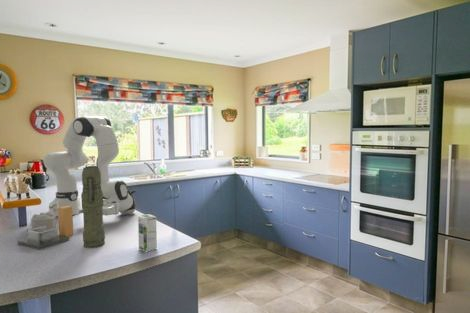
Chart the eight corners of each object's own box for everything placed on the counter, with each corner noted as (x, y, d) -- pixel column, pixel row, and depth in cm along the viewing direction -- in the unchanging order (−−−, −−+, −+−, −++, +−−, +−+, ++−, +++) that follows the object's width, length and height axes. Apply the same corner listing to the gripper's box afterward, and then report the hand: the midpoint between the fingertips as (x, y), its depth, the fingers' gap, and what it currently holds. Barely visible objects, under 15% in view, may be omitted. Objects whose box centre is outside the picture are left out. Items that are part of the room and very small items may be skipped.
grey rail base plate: (48, 235, 159) (47, 223, 158) (69, 240, 151) (68, 227, 151) (17, 244, 146) (17, 230, 146) (39, 249, 139) (38, 235, 138)
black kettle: (136, 215, 197) (136, 190, 196) (118, 216, 193) (117, 191, 192) (135, 211, 207) (134, 187, 206) (118, 213, 203) (117, 189, 202)
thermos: (104, 239, 152) (101, 164, 149) (105, 247, 141) (102, 167, 138) (83, 242, 148) (80, 165, 146) (83, 250, 137) (79, 168, 135)
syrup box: (138, 249, 138) (137, 215, 137) (150, 246, 142) (149, 213, 141) (145, 253, 133) (143, 218, 132) (157, 249, 138) (156, 215, 137)
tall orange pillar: (59, 236, 157) (57, 207, 156) (67, 233, 161) (66, 205, 160) (64, 237, 155) (63, 208, 154) (73, 234, 159) (72, 206, 158)
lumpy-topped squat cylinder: (29, 234, 160) (28, 217, 160) (35, 227, 172) (35, 211, 172) (53, 232, 164) (52, 215, 163) (57, 225, 176) (57, 209, 175)
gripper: (94, 200, 184) (72, 204, 172) (120, 202, 175) (98, 208, 162) (95, 211, 185) (73, 216, 172) (120, 214, 175) (99, 220, 163)
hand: (85, 212), depth 167 cm, fingers open, 8 cm apart
